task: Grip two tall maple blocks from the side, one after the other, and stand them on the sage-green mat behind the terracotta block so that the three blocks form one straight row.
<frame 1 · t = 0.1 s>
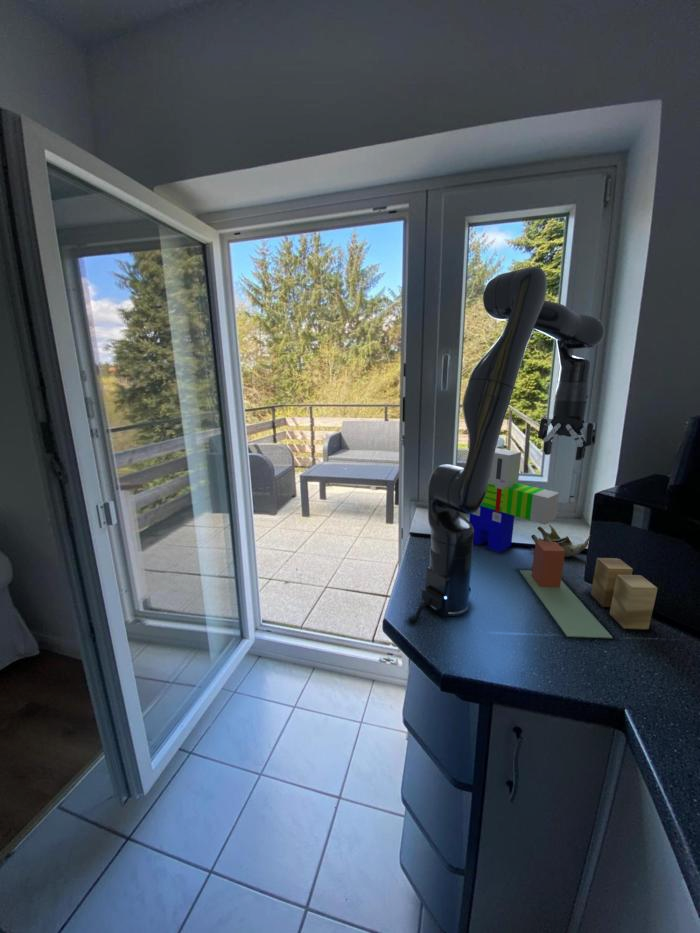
hand: (562, 457, 105), 29 cm above the worktop, tool pointing down, fingers open, 8 cm apart
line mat: (559, 599, 89), on the worktop
maple block 1: (628, 622, 81), on the worktop
maple block 2: (607, 601, 88), on the worktop
jawbone: (558, 554, 111), on the worktop
toy: (489, 544, 118), on the worktop
terracotta block: (545, 581, 96), resting on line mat
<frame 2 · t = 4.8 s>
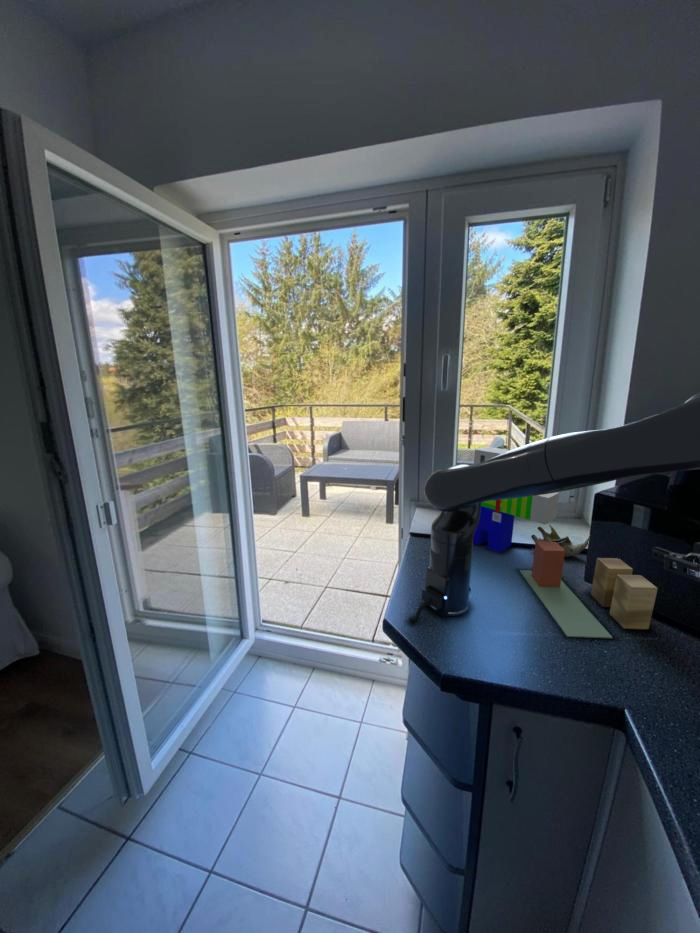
hand: (674, 549, 70), 20 cm above the worktop, tool horizontal, fingers open, 8 cm apart
nothing on the worktop moved.
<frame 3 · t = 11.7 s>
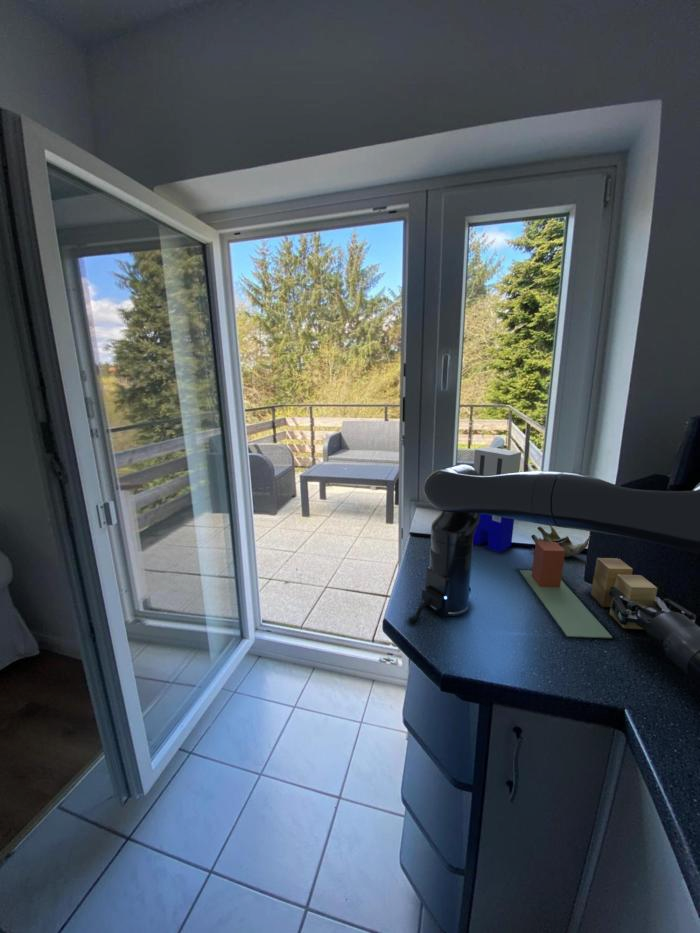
hand: (625, 590, 82), 6 cm above the worktop, tool horizontal, fingers closed on maple block 1, 5 cm apart
maple block 1: (628, 622, 81), on the worktop, touching gripper
everything else where it was.
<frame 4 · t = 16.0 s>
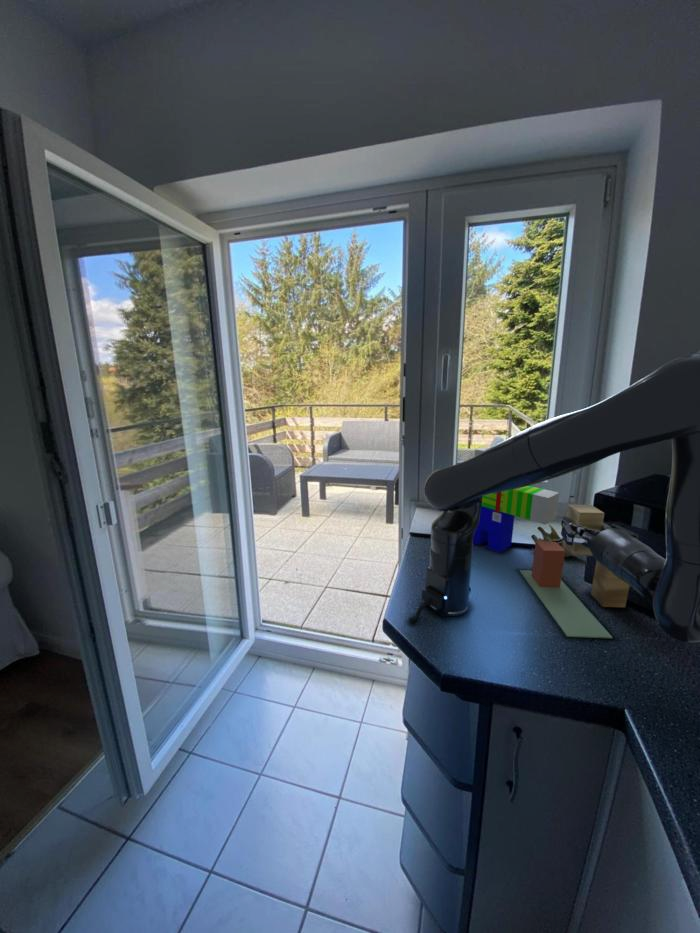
hand: (576, 521, 85), 20 cm above the worktop, tool horizontal, fingers closed on maple block 1, 5 cm apart
maple block 1: (579, 550, 84), point 14 cm above the worktop, touching gripper
everything else where it was.
when the fingers open (6 cm above the worktop, at t = 20.3 s): maple block 1 stays where it is, resting on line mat.
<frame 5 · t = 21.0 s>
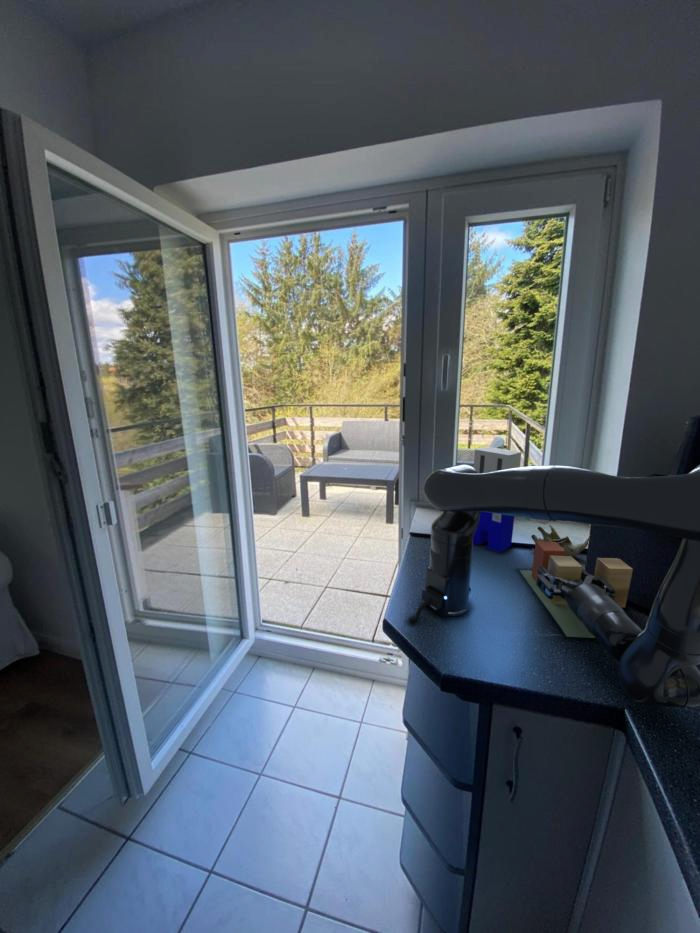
hand: (558, 569, 89), 7 cm above the worktop, tool horizontal, fingers open, 8 cm apart
maple block 1: (559, 599, 88), resting on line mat
everything else where it was.
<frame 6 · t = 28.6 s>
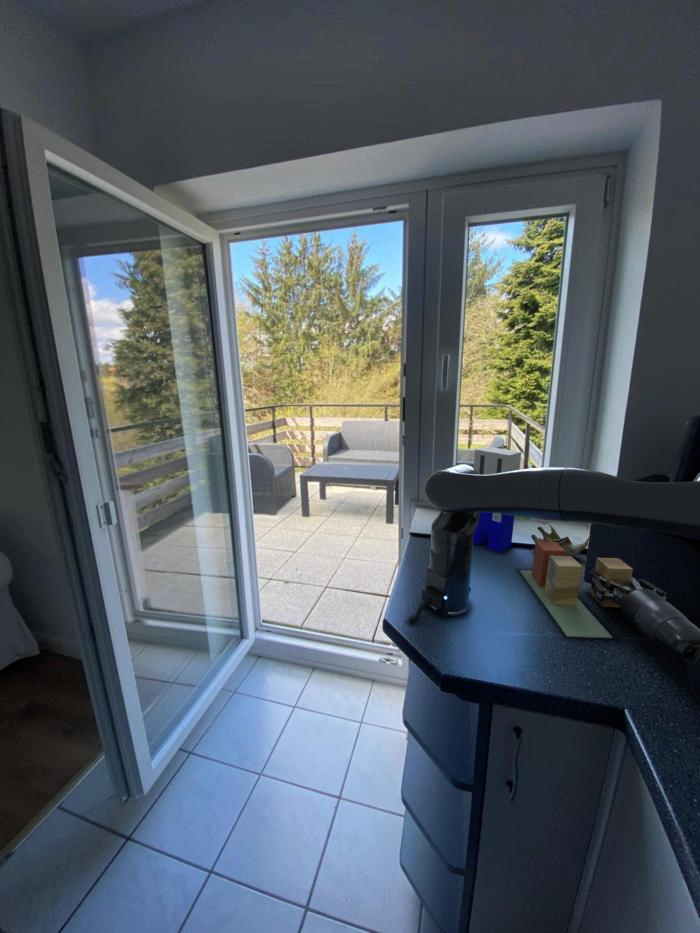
hand: (604, 572, 89), 6 cm above the worktop, tool horizontal, fingers closed on maple block 2, 5 cm apart
maple block 2: (607, 601, 88), on the worktop, touching gripper
everything else where it was.
when the fingers open (6 cm above the worktop, at t = 37.3 s): maple block 2 stays where it is, resting on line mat.
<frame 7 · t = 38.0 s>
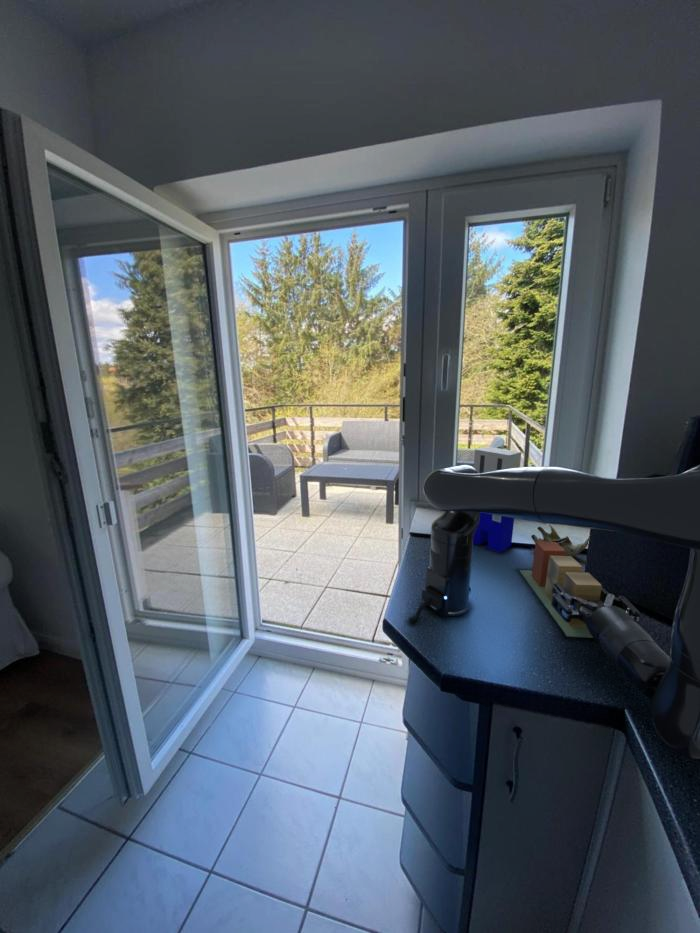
hand: (575, 587, 81), 7 cm above the worktop, tool horizontal, fingers open, 8 cm apart
maple block 2: (576, 619, 81), resting on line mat
everything else where it was.
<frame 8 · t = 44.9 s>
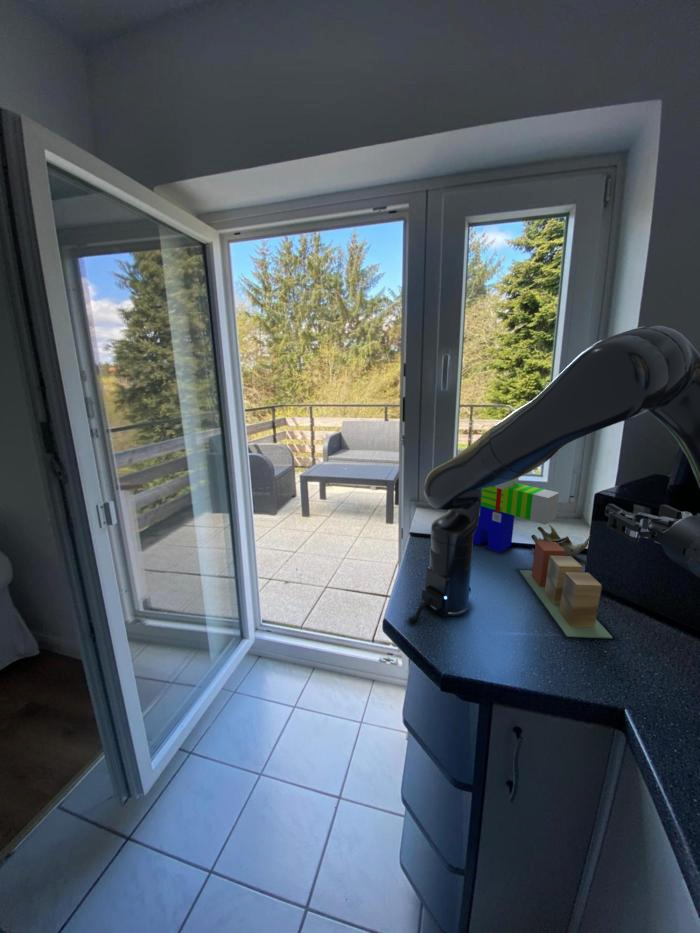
hand: (634, 509, 63), 30 cm above the worktop, tool horizontal, fingers open, 8 cm apart
nothing on the worktop moved.
at the end: maple block 1 0.1 cm from the target spot, resting on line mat; maple block 2 0.1 cm from the target spot, resting on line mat; terracotta block moved 0.0 cm from its start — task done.
